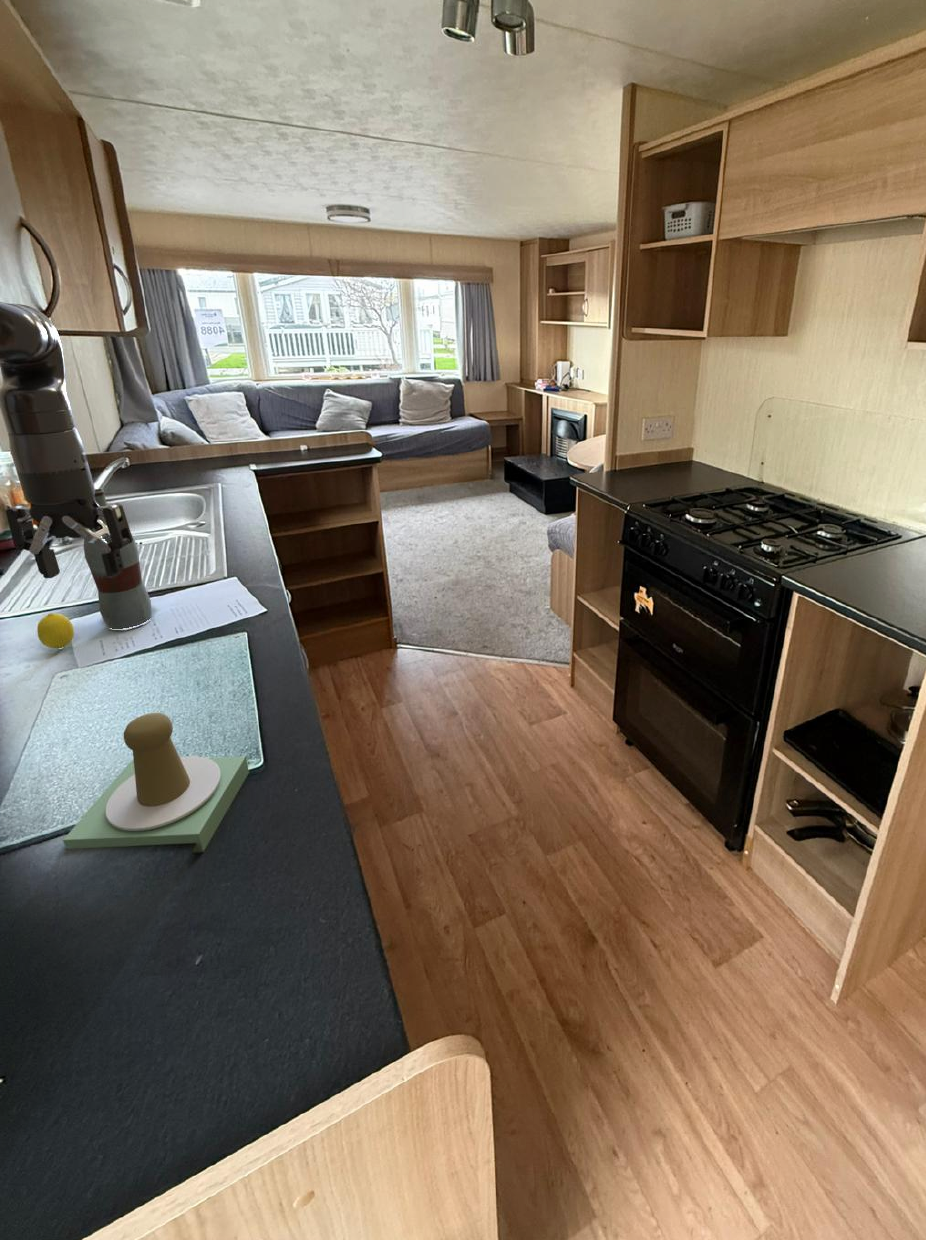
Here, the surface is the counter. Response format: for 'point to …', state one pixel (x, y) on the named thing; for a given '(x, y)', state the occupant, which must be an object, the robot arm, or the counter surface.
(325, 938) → the counter surface
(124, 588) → the bottle
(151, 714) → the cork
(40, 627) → the lemon
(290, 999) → the counter surface
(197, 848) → the scale
